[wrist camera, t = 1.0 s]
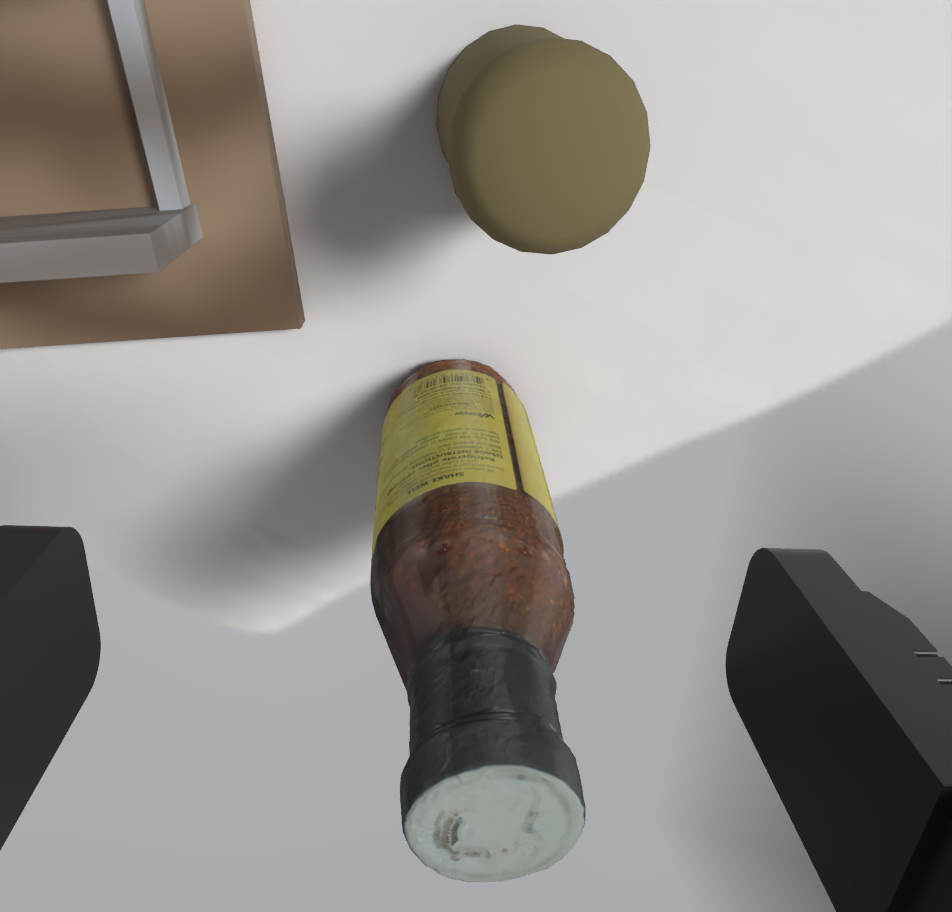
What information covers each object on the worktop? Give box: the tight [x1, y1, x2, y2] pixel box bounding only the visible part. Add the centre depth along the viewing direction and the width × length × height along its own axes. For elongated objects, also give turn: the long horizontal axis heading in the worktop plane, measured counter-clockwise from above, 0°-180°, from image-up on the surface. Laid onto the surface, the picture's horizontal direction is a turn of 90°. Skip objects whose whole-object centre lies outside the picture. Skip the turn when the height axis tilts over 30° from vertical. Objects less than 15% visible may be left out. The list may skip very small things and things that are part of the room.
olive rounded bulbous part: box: [436, 25, 650, 254], centre depth 23 cm, size 6×6×11 cm
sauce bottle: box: [371, 359, 585, 882], centre depth 25 cm, size 7×6×20 cm
